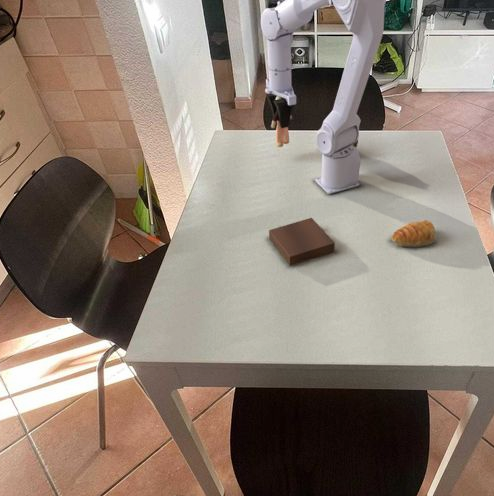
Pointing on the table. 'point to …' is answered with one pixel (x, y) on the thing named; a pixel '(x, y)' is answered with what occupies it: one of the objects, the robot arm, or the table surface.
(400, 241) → the pastry
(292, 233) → the walnut block
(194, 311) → the table surface
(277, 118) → the grandmother figurine
